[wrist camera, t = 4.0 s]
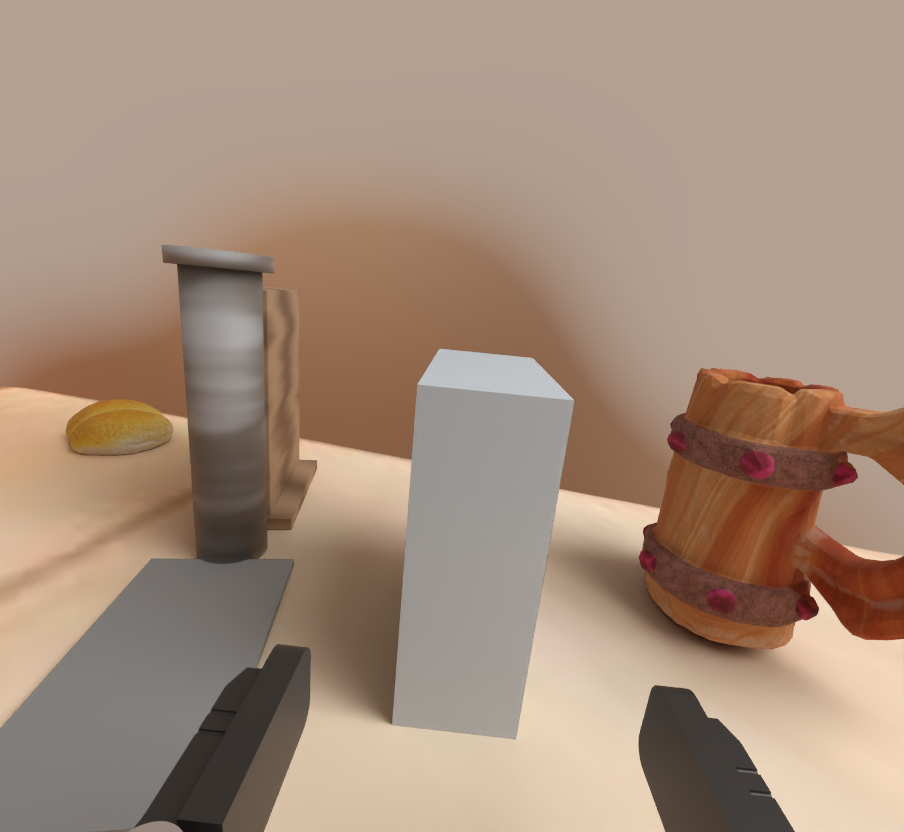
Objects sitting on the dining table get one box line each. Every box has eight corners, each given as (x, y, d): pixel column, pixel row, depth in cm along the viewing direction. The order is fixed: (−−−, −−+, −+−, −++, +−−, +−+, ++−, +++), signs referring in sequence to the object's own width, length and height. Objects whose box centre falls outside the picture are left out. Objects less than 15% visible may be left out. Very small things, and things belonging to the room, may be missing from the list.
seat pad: (198, 830, 14) (198, 823, 14) (-103, 854, 13) (-105, 846, 12) (293, 563, 27) (293, 559, 27) (152, 563, 26) (151, 558, 26)
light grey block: (392, 725, 18) (417, 384, 14) (420, 574, 27) (439, 348, 24) (515, 739, 18) (574, 400, 14) (500, 582, 27) (532, 358, 24)
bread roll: (75, 466, 38) (69, 421, 37) (64, 436, 44) (58, 397, 43) (185, 449, 43) (182, 410, 42) (162, 424, 49) (159, 390, 48)
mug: (595, 583, 28) (644, 347, 24) (673, 555, 32) (726, 350, 28) (901, 819, 16) (1100, 426, 12) (964, 727, 20) (1128, 411, 16)
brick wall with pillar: (272, 574, 26) (267, 254, 21) (161, 574, 25) (130, 240, 20) (316, 468, 41) (319, 269, 37) (249, 466, 40) (243, 261, 36)
